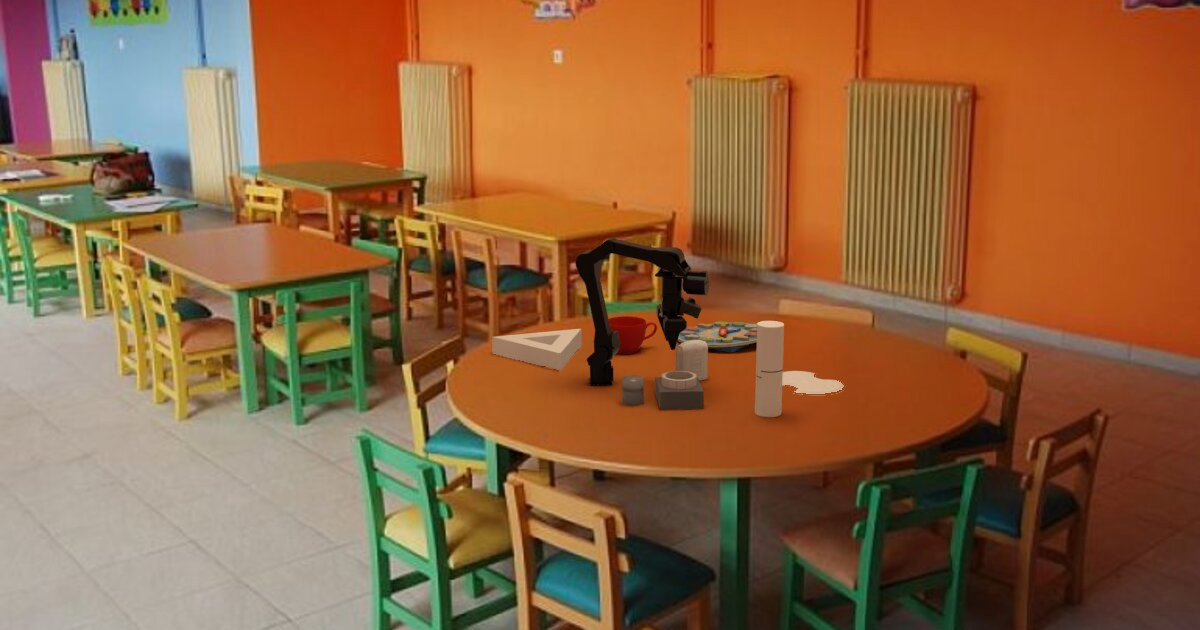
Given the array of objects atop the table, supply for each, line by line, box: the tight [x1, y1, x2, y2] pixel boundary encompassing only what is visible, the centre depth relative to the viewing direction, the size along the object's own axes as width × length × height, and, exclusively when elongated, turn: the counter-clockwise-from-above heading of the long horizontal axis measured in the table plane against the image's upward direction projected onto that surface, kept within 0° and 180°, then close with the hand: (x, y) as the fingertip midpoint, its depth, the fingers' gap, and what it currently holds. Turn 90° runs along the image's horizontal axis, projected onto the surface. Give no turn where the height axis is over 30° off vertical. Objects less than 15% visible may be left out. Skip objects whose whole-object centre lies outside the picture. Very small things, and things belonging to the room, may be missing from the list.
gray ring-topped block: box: [654, 370, 705, 410], centre depth 338 cm, size 12×14×8 cm
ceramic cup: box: [608, 315, 658, 355], centre depth 388 cm, size 13×17×10 cm
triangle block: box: [491, 328, 583, 371], centre depth 379 cm, size 30×26×6 cm
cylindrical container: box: [754, 320, 785, 418], centre depth 325 cm, size 7×7×25 cm
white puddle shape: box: [782, 370, 845, 394], centre depth 354 cm, size 20×2×25 cm
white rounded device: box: [675, 340, 709, 382], centre depth 356 cm, size 10×4×12 cm, turn 123°
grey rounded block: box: [621, 374, 645, 407], centre depth 337 cm, size 6×6×7 cm
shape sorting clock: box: [677, 321, 757, 353], centre depth 399 cm, size 31×30×6 cm
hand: (670, 345), depth 346 cm, fingers open, 9 cm apart
